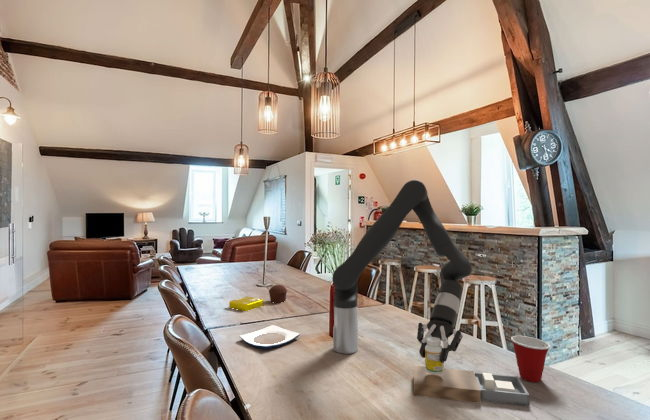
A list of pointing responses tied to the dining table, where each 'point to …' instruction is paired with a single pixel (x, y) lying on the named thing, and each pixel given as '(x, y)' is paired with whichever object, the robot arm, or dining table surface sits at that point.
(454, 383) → the board
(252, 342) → the plate
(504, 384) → the tile
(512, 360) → the dining table surface
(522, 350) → the plastic cup
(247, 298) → the element tile
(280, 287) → the muffin
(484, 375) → the tile
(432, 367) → the supplement bottle
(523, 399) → the tray
